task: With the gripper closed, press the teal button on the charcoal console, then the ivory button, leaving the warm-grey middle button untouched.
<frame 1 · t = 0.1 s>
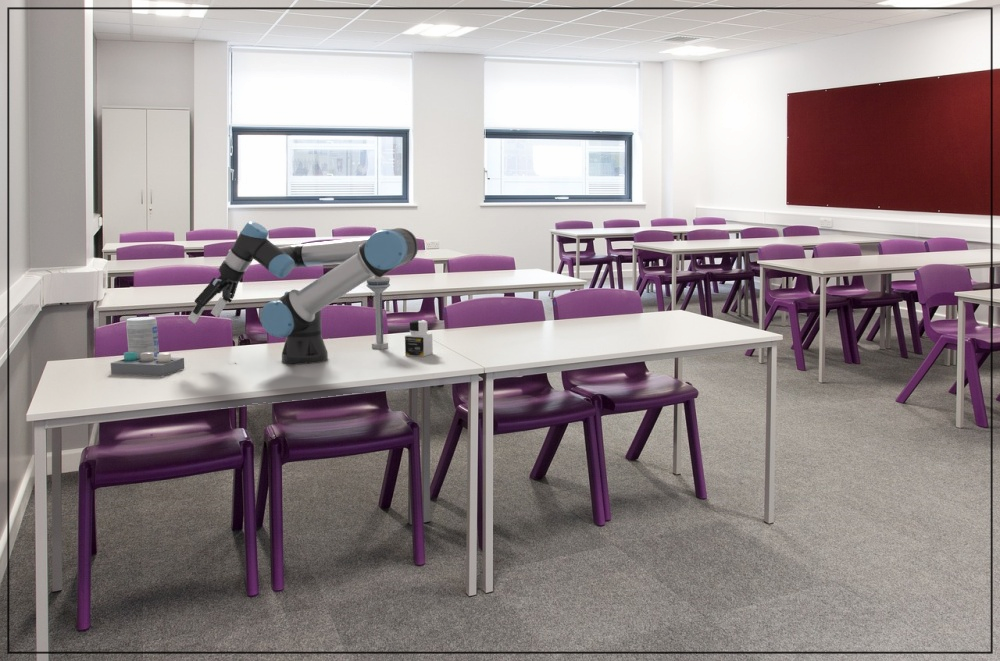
hand: (203, 318, 290), 15 cm above the table, tool tilted 35°, fingers open, 13 cm apart
medicine bottle: (419, 355, 307), on the table
supplement tub: (144, 362, 298), on the table
ivory button: (164, 358, 280), point 4 cm above the table, slide at 0.0 cm
model tower: (380, 348, 320), on the table
teal button: (130, 357, 283), point 4 cm above the table, slide at 0.0 cm
grey button: (147, 357, 281), point 4 cm above the table, slide at 0.0 cm
console: (148, 371, 282), on the table
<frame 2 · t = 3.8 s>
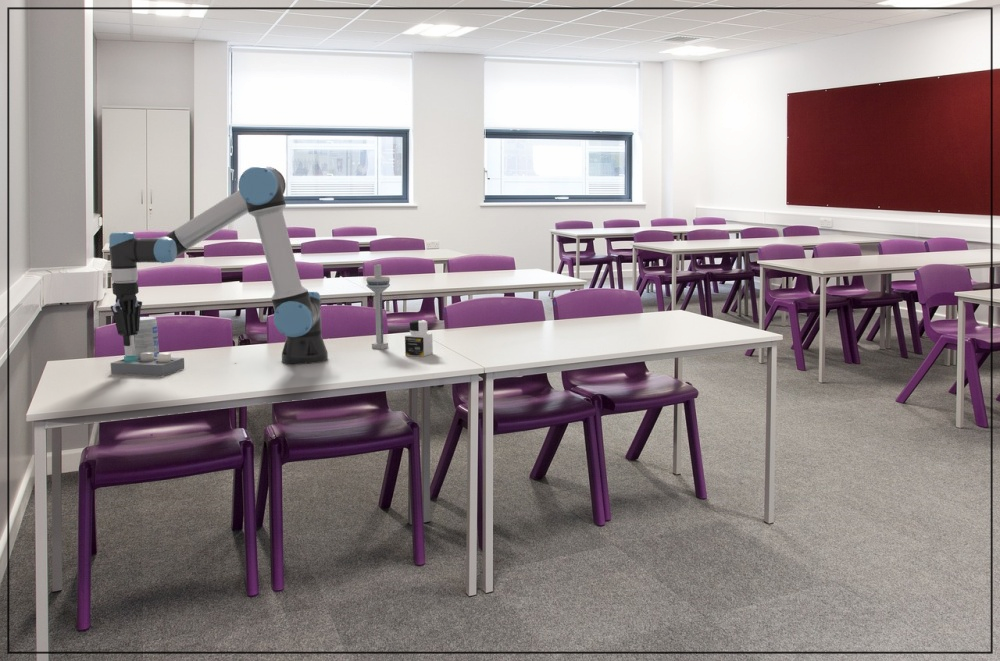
hand: (130, 355, 283), 5 cm above the table, tool pointing down, fingers closed
teal button: (131, 360, 283), point 3 cm above the table, slide at 1.1 cm, touching gripper
everything else where it was.
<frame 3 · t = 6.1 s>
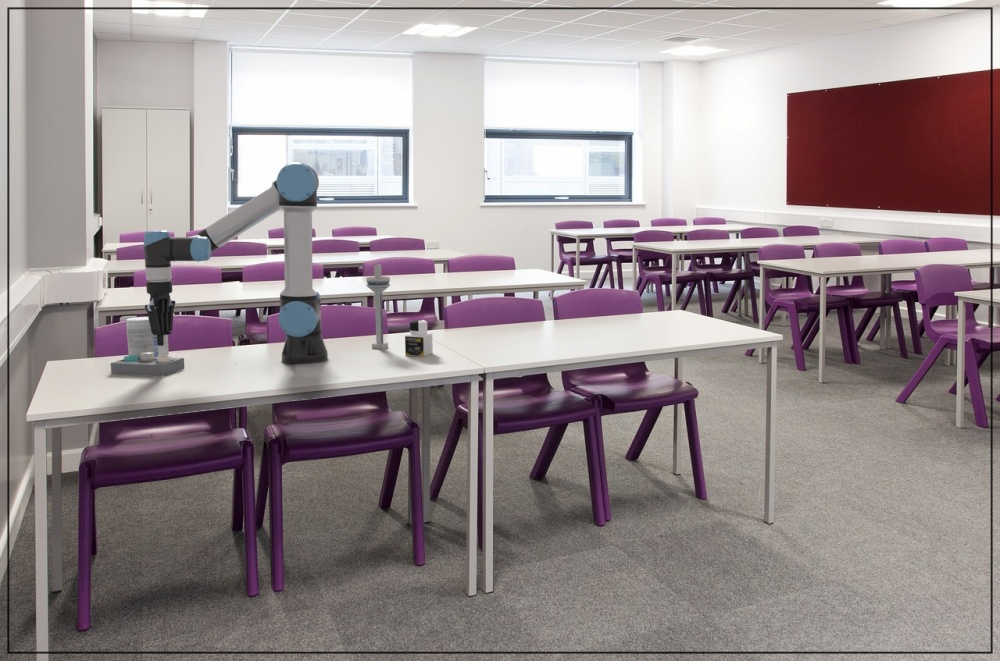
hand: (163, 355, 280), 5 cm above the table, tool pointing down, fingers closed
ivory button: (164, 360, 280), point 4 cm above the table, slide at 0.7 cm, touching gripper
teal button: (131, 361, 283), point 3 cm above the table, slide at 1.2 cm
everything else where it was.
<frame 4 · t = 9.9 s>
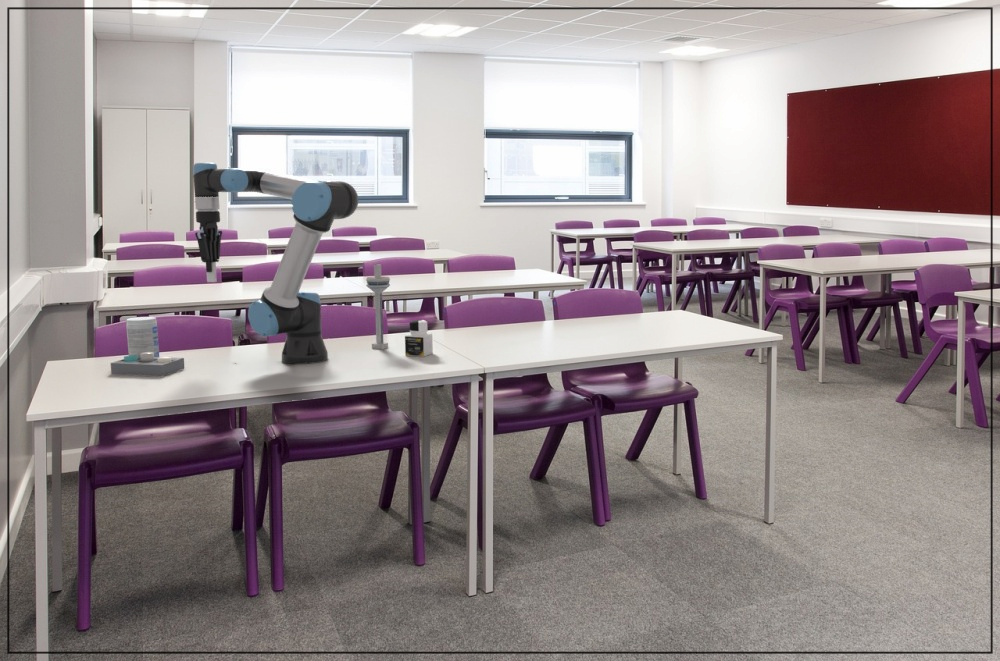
hand: (211, 281, 297), 26 cm above the table, tool pointing down, fingers closed
ivory button: (164, 362, 280), point 3 cm above the table, slide at 1.2 cm
everything else where it was.
at the end: teal button slide at 1.2 cm; ivory button slide at 1.2 cm; grey button slide at 0.0 cm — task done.
